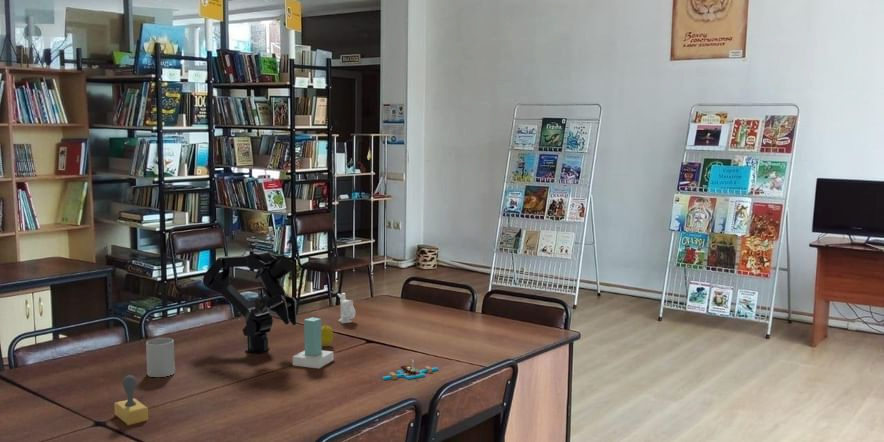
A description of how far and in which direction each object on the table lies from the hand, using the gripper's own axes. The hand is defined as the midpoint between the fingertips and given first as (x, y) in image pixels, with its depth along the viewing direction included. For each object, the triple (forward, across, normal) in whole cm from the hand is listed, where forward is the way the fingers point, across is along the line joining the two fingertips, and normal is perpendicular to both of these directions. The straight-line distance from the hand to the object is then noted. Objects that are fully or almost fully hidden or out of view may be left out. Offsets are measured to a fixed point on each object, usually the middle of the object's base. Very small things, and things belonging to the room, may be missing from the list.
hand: (291, 324), depth 266 cm
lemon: (+11, -18, +4) cm, 21 cm away
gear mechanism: (+34, +10, +30) cm, 47 cm away
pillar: (+13, +2, +3) cm, 13 cm away
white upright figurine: (+2, -52, +8) cm, 53 cm away
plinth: (+15, +1, +2) cm, 16 cm away
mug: (-3, +16, -42) cm, 45 cm away
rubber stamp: (+10, +53, -38) cm, 66 cm away
